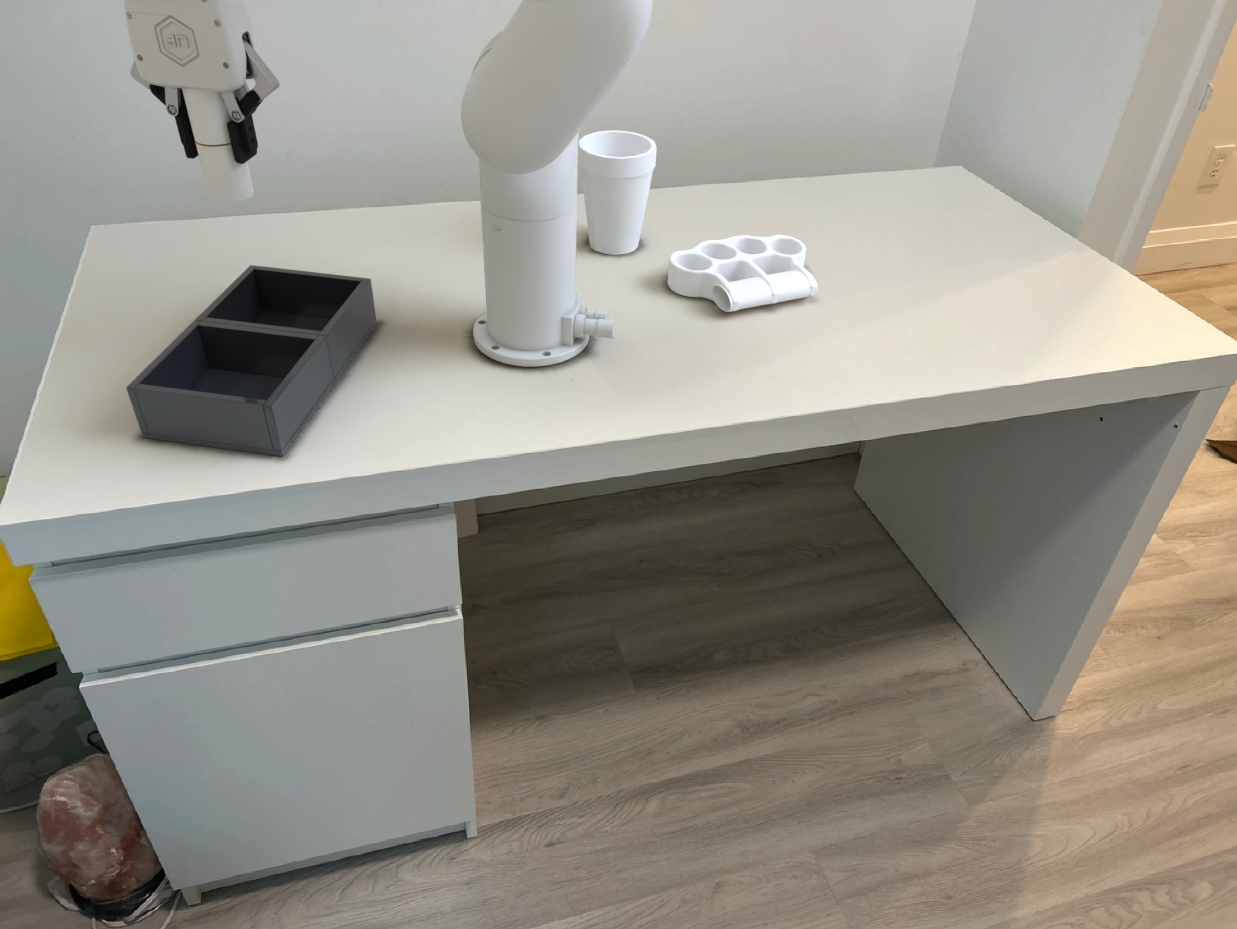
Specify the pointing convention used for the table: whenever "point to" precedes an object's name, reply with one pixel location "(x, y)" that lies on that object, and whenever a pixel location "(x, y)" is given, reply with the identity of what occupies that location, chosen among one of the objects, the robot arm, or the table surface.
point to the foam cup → (616, 187)
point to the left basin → (233, 387)
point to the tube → (216, 147)
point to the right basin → (301, 307)
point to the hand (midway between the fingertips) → (222, 154)
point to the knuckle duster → (743, 271)
